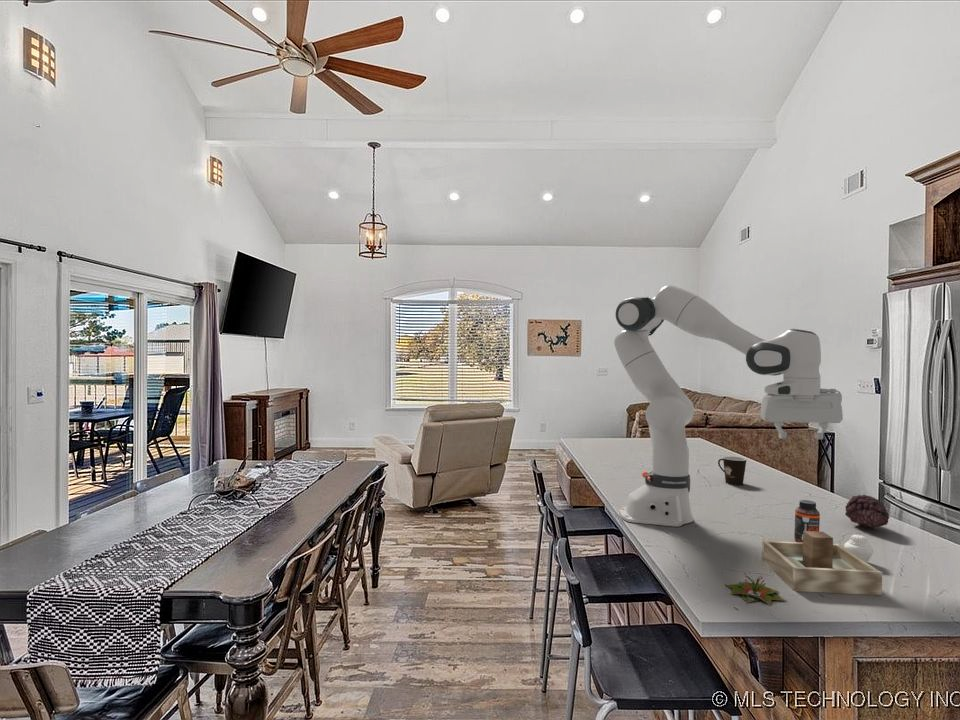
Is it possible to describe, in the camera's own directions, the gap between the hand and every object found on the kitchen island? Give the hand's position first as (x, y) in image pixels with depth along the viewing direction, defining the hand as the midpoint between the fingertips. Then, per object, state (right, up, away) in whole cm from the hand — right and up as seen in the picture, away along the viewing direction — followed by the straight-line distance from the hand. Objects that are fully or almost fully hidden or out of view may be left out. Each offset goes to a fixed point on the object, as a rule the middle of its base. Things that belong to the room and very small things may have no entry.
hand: (800, 438), depth 152 cm
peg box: (-9, -29, -22) cm, 38 cm away
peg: (-9, -29, -22) cm, 38 cm away
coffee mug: (+14, -28, +72) cm, 79 cm away
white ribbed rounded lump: (+7, -30, -12) cm, 33 cm away
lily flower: (-28, -30, -31) cm, 52 cm away
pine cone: (+28, -29, +15) cm, 43 cm away
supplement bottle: (+3, -29, +2) cm, 30 cm away
